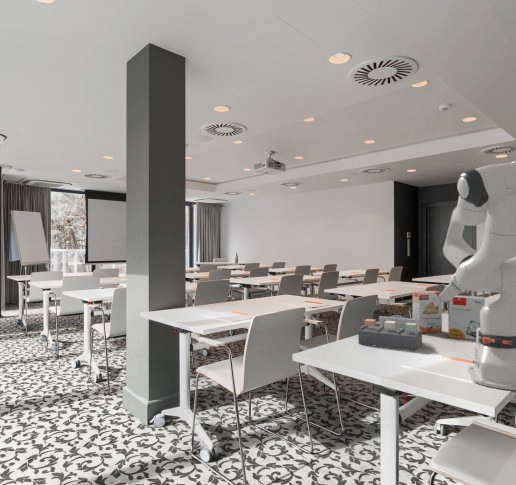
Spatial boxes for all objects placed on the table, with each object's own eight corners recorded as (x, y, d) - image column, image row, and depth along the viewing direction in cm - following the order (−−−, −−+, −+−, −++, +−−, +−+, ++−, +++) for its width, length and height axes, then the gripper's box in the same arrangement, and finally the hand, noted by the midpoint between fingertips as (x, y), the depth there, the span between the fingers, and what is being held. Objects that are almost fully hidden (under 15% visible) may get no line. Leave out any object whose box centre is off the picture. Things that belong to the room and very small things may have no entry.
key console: (416, 351, 161) (415, 327, 161) (358, 343, 174) (358, 321, 174) (424, 341, 177) (424, 320, 177) (371, 335, 191) (370, 315, 191)
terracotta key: (373, 326, 175) (373, 321, 175) (364, 325, 178) (364, 320, 178) (375, 325, 179) (375, 319, 179) (367, 324, 181) (367, 318, 181)
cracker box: (419, 334, 194) (419, 292, 194) (412, 331, 199) (411, 291, 200) (443, 332, 197) (442, 291, 198) (434, 329, 203) (434, 290, 203)
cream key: (393, 328, 171) (393, 323, 171) (384, 327, 173) (384, 322, 173) (395, 327, 174) (395, 321, 174) (386, 326, 176) (386, 320, 177)
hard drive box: (448, 337, 185) (447, 296, 186) (448, 334, 192) (448, 294, 193) (485, 341, 178) (484, 298, 179) (484, 337, 185) (483, 296, 185)
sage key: (414, 331, 166) (414, 325, 166) (405, 330, 168) (405, 324, 168) (416, 329, 169) (416, 323, 170) (407, 328, 172) (407, 322, 172)
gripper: (458, 275, 168) (434, 296, 173) (453, 278, 151) (426, 301, 156) (470, 285, 166) (445, 306, 171) (466, 290, 148) (438, 313, 154)
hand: (436, 304), depth 163 cm, fingers closed
